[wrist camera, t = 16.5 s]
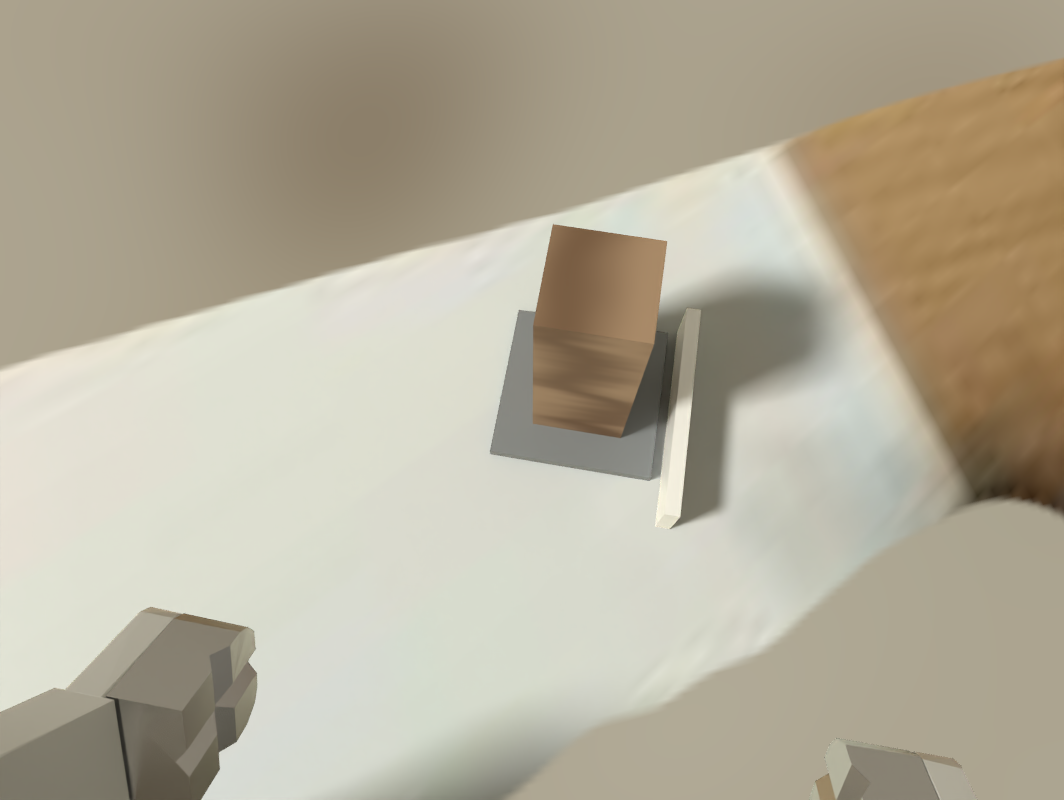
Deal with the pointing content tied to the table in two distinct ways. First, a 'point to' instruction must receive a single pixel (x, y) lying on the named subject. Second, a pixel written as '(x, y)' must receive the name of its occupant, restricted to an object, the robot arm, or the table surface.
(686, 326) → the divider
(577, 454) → the coaster
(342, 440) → the table surface
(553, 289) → the walnut block
